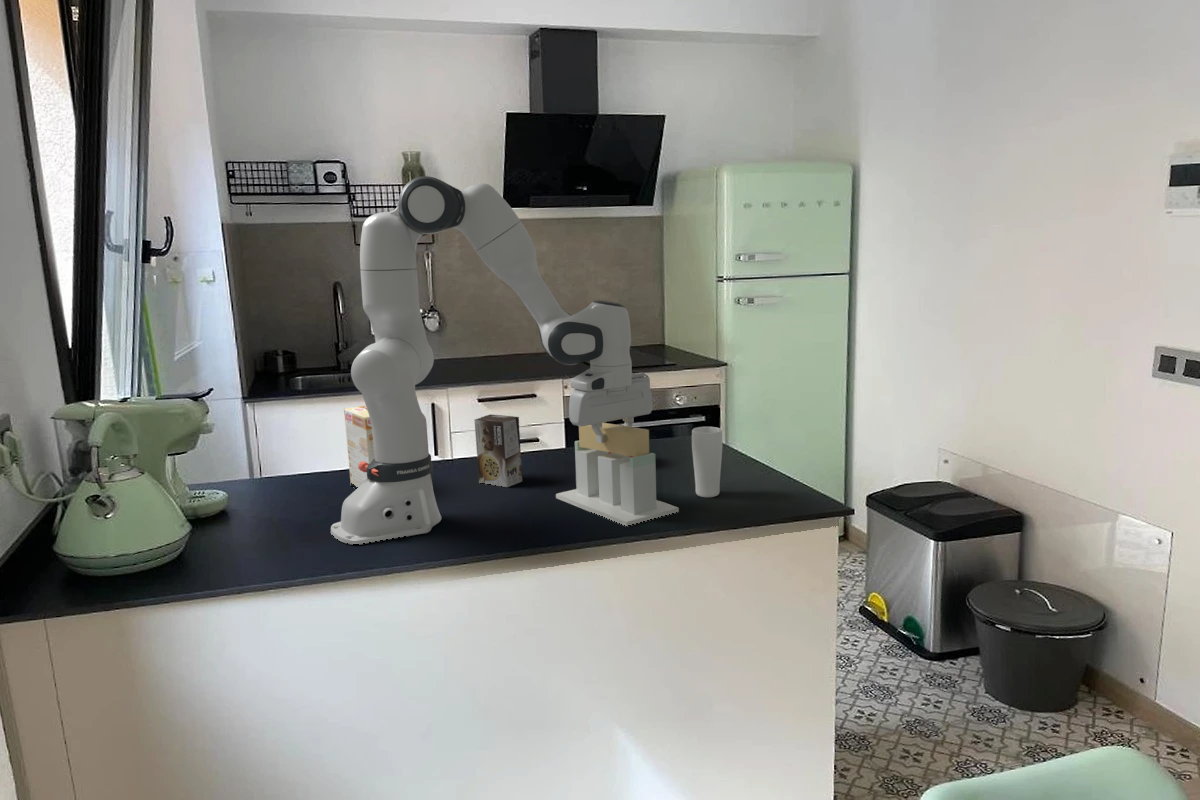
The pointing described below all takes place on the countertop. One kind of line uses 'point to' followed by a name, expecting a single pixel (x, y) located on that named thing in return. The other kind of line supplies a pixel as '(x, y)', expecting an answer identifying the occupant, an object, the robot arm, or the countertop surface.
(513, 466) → the coffee box
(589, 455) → the display stand
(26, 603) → the countertop surface
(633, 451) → the tan wooden plank
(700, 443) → the drinking glass
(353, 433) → the coffeecake box
